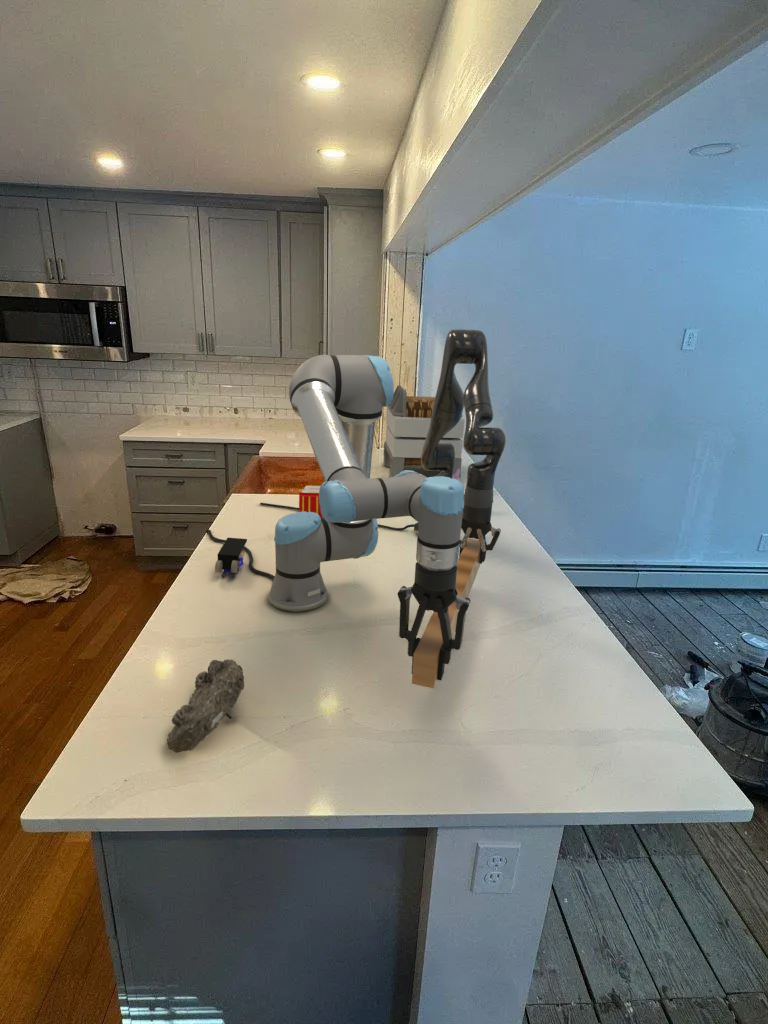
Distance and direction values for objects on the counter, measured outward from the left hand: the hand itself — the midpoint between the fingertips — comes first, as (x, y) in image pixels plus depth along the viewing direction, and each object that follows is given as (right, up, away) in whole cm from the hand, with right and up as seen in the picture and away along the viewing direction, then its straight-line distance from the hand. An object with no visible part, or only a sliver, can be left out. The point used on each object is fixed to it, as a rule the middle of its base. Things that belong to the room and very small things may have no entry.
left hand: (427, 672), depth 110 cm
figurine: (+20, +34, +123) cm, 129 cm away
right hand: (+16, +18, +46) cm, 52 cm away
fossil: (-41, -8, -1) cm, 42 cm away
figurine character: (-53, +14, +58) cm, 80 cm away
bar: (+8, +8, +24) cm, 26 cm away
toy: (-34, +29, +102) cm, 111 cm away
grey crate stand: (+9, +50, +165) cm, 173 cm away
